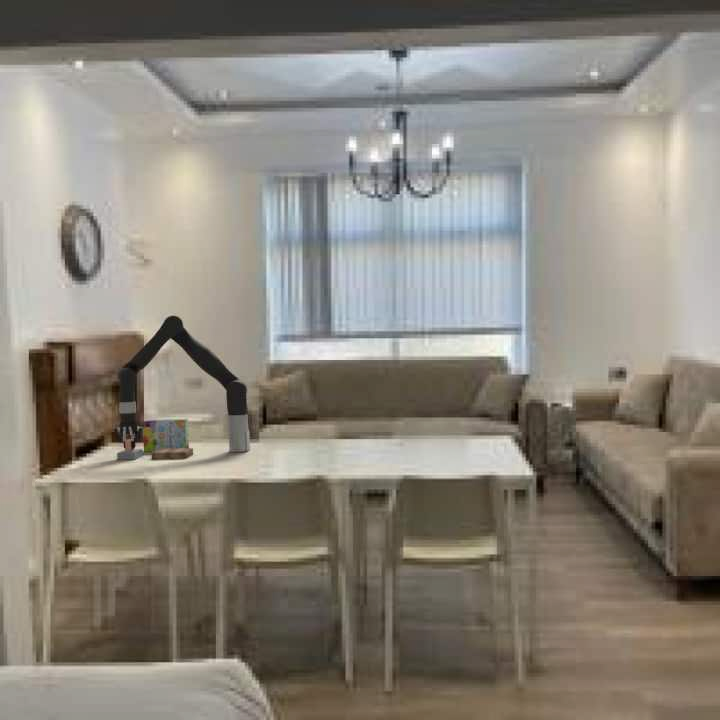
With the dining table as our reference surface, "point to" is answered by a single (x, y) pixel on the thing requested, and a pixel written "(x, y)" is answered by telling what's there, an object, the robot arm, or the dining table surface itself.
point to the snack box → (165, 434)
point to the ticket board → (172, 453)
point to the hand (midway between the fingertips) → (129, 449)
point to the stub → (129, 452)
